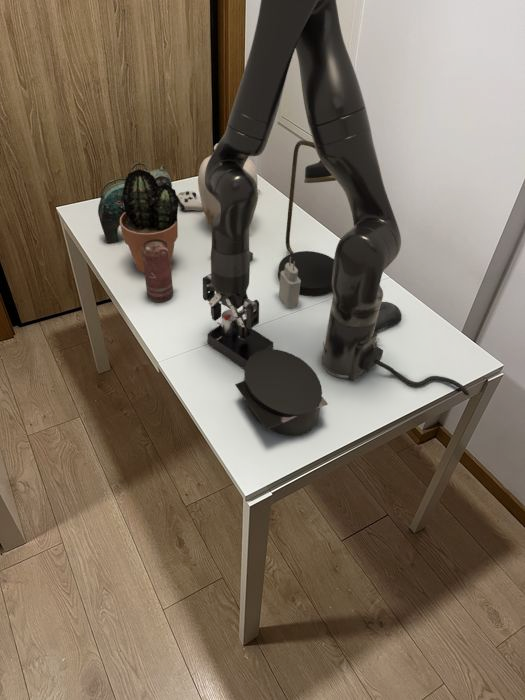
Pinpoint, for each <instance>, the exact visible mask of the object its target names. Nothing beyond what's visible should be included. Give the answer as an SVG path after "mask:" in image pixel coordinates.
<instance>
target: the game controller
mask: <svg viewBox="0 0 525 700" xmlns="http://www.w3.org/2000/svg"><path fill="white" fill-rule="evenodd" d="M176 195H177V199H178V203H179V206H181V209H180V210H181V211H183V212H186V211H189V210H191V211H197V212H201V211H204V210H203V207H202V203H201V201H200V200H197V193H196V191H194V190H186V191H181V192H179V193H176Z"/></svg>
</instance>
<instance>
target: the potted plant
mask: <svg viewBox="0 0 525 700" xmlns="http://www.w3.org/2000/svg"><path fill="white" fill-rule="evenodd" d="M144 170H145V169H140V168H138V169H136V170H134V171H131V172H129V173H127V176H126V177H125V179H126V180H124V181H125V185H124V189H123V193H122V196H123V201H124V206H125V213H123V214H122V216H121V217H120V226H119V227H120V229H121V230H120V231H121V235H122V240H123V242H124V243H125V245H127V246H128V249H129V250H130V254H131V256H132V259H133V261H134V264H135V266H136V268H137V270H138V271H139V272H141V273H144V266H143V258H142V247H143V244H144V243H145V242H146V241H148V240H152V239H160V240H163V241H165V242H166V243H167V245H168V246H169V251H170V262H171V264H172V261H173V257H174V256H173V255H174V249H175V242H176V241H177V239H178V238H179V233H178V231H179V229H178V227H179V226H178V214H179V212H178V211H179V202H178V199H177V192H176V189H174V188H173V187H172V188H171V187H170V186H168V185H167V184H166V185H165V184H163V185H161V186H158V184H157V182H156V180H155V178H154V176H153V175H151V174H150V171H149V172H147V171H148V170H147V171H144Z"/></svg>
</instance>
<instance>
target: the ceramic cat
mask: <svg viewBox="0 0 525 700" xmlns="http://www.w3.org/2000/svg"><path fill="white" fill-rule="evenodd" d="M139 165H141V166H143V167H144V169H143V170H144V171H147V172H150V174H151V175H153V176H154V178H155V180H156V182H157V184H158V186H161V185H163V184H165V185H166V184H167V185H168V186H170V187H171V188H172V189H173V183H172V180H171V179H172V178H171V177H170V175H169V173H168V172H167V168H166V166H165V165H163V164H162V165H161V166H160V168H157V169H153V170H150V171H149V170H148V168H147V166H146V165H145V164H144V163H142V162H135V163H134V164H132V166H131V170H134V168H135V167H136V166H139ZM125 180H126V178H121V177H120V178H115V179H112V180H110V181H108V182H106V183H105V184H104V185H103V186H102V188H101V192H100V196H99V199H100V200H99V203H98V206H97V207H98V208H97V214H98V218H99V222H100V225H101V230H102V232H103V235H104V237H105V240H106V242H107V244H114V243H118V242H119V241H120V238H119V228H120V227H121V226H120V217H121V216H122V214H123V213H125V206H124V201H123V196H122V193H123V189H124V185H125ZM117 181H120V182H118V183H115V182H117ZM113 183H114V184H113ZM110 184H111V185H110ZM109 185H110V186H109ZM107 186H109V187H108V188H106V187H107Z"/></svg>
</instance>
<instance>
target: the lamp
mask: <svg viewBox="0 0 525 700" xmlns="http://www.w3.org/2000/svg"><path fill="white" fill-rule="evenodd" d="M301 146H307V147H310V148H313V149H315V145H314V142H313V141H310V140H305V139H300V140H298V141H297V142H296V144H295V146H294V149H293V153H292V155H293V156H292V164H291V165H292V166H291V176H290V187H289V198H288V206H287V207H288V208H287V219H286V231H285V247H286V250H287V252H288V253H289V254H287V255H285V257H283V258H282V259H281V260H280V262H279V263H278V270H277V278H278V281H279V282H280V275H281V271H284V270H285V265H286V263H289V262H290V257H291V263H292V264H293V263H294V261H295V264H294V266H295V267H296V268H297V269H298V275H297V276H298V278H299V279H300V280H301V283H300V291H299V295H300V296H307V297H319V296H325V295H328V294H331V293H334V292H333V289H332V273H333V265H334V257H331V256H329V255H327V254H325V253H321V252H318V251H313V250H312V251H311V250H302V251H295V252H294V251H293V250H292V248H291V247H292V246H291V241H290V238H291V230H292V229H291V227H292V218H293V206H294V197H295V185H296V177H297V175H296V174H297V165H298V157H299V150H300V147H301ZM334 181H336V182H337V180H336V179H335V178H334V177H333V176H332V175H331V173H330V172H329V171H328V170H327V168H326V167H325V166H324V164H323V163H322V161H321V160H320V159H319V161H318V162H315V163H313V164H309V165H307V166H305V169H304V181H303V183H305V184H316V183H317V184H318V183H328V182H334Z"/></svg>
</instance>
